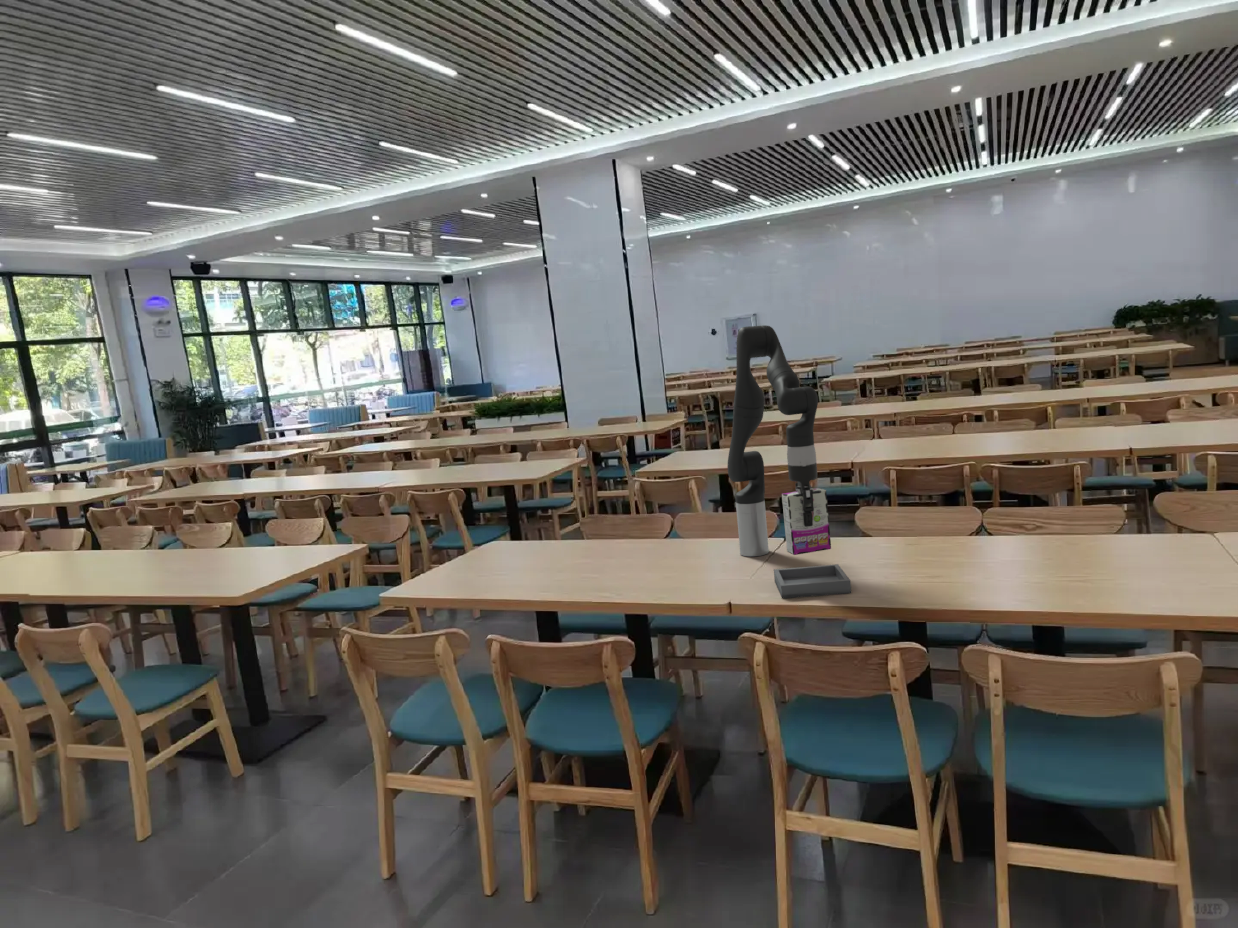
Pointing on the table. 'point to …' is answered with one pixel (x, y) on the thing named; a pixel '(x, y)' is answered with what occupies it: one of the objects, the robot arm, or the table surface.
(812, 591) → the tray
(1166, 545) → the table surface
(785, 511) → the candy bar box
